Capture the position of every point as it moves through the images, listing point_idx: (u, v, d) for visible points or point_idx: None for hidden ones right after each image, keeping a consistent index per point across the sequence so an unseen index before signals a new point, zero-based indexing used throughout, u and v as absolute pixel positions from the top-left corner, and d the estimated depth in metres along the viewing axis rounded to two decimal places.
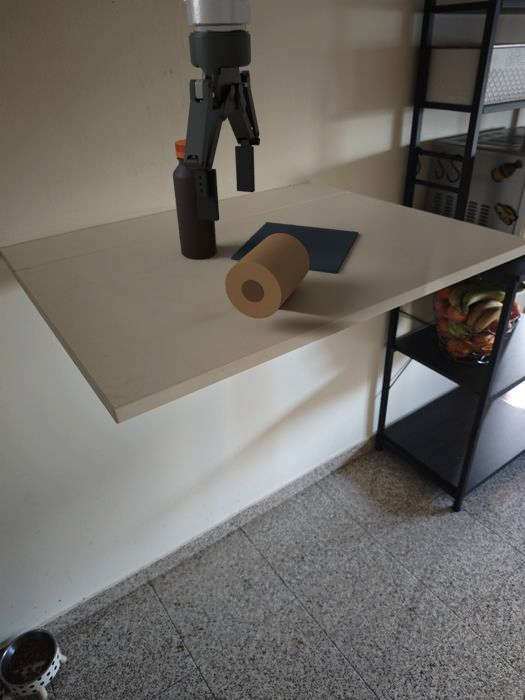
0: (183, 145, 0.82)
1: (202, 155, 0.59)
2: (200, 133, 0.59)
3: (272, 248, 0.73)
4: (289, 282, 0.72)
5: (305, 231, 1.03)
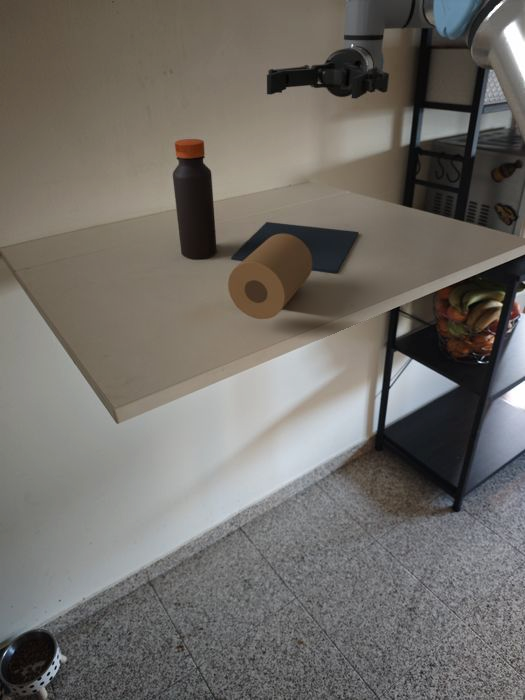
0: (183, 145, 0.82)
1: None
2: None
3: (278, 250, 0.73)
4: (293, 285, 0.72)
5: (305, 231, 1.03)
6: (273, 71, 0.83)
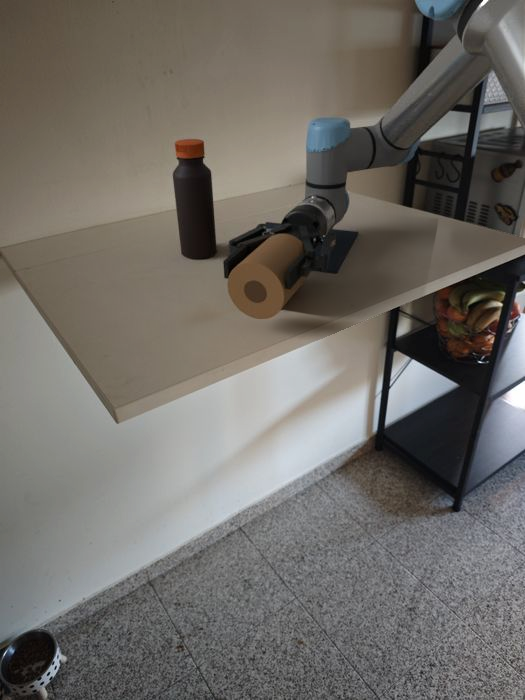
0: (183, 145, 0.82)
1: (327, 267, 0.75)
2: None
3: (276, 250, 0.73)
4: None
5: None
6: (234, 242, 0.78)
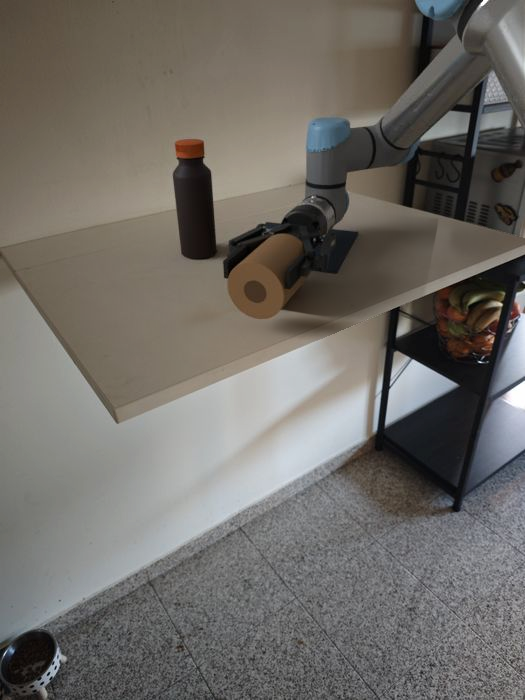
0: (183, 145, 0.82)
1: (326, 267, 0.75)
2: None
3: (276, 250, 0.73)
4: None
5: None
6: (234, 242, 0.78)
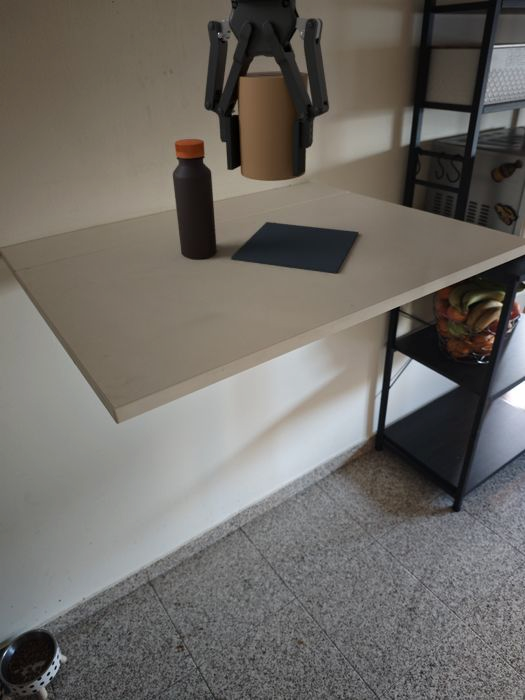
0: (183, 145, 0.82)
1: (327, 99, 0.60)
2: (323, 77, 0.59)
3: (266, 135, 0.63)
4: None
5: (305, 231, 1.03)
6: (212, 107, 0.64)
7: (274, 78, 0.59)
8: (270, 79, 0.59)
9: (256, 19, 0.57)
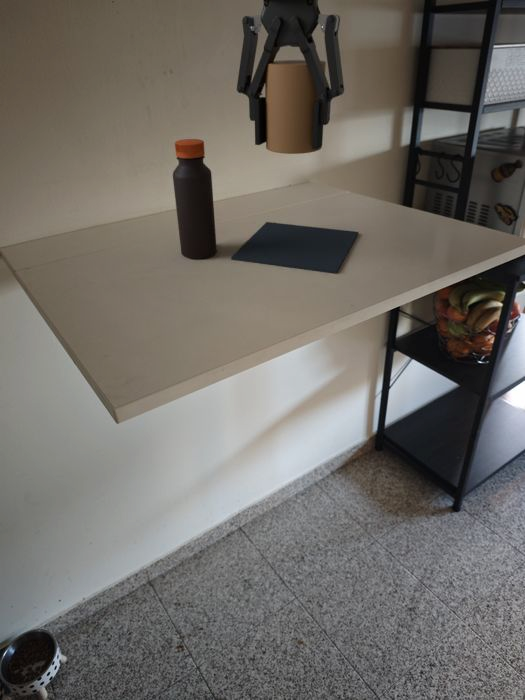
0: (183, 145, 0.82)
1: (342, 83, 0.72)
2: (340, 64, 0.70)
3: (290, 114, 0.74)
4: None
5: (305, 231, 1.03)
6: (243, 90, 0.76)
7: (298, 65, 0.70)
8: (295, 66, 0.70)
9: (284, 15, 0.68)
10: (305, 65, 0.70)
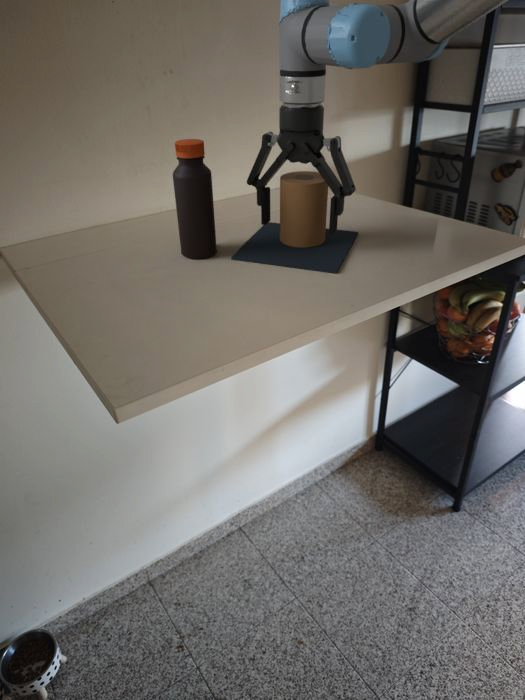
0: (183, 145, 0.82)
1: (353, 183, 0.88)
2: (347, 170, 0.87)
3: (300, 218, 0.92)
4: (324, 226, 0.95)
5: None
6: (252, 183, 0.93)
7: (307, 184, 0.89)
8: (304, 185, 0.89)
9: (296, 144, 0.86)
10: (312, 184, 0.89)
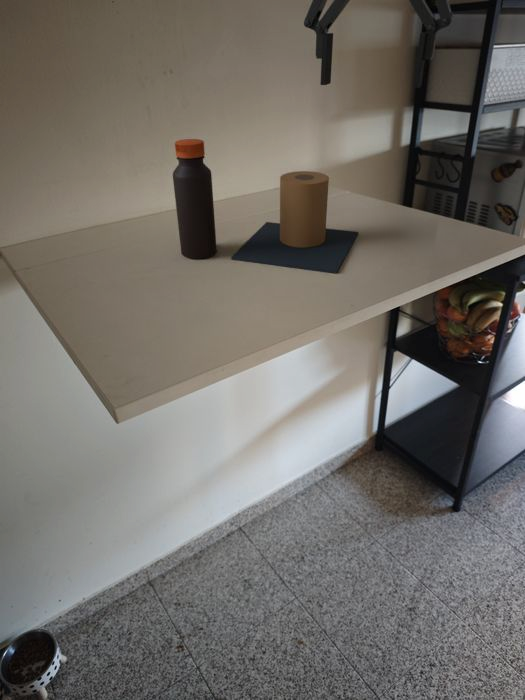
0: (183, 145, 0.82)
1: (450, 12, 0.66)
2: None
3: (300, 218, 0.92)
4: (324, 226, 0.95)
5: None
6: (310, 25, 0.71)
7: (307, 184, 0.89)
8: (304, 185, 0.89)
9: None
10: (312, 184, 0.89)
